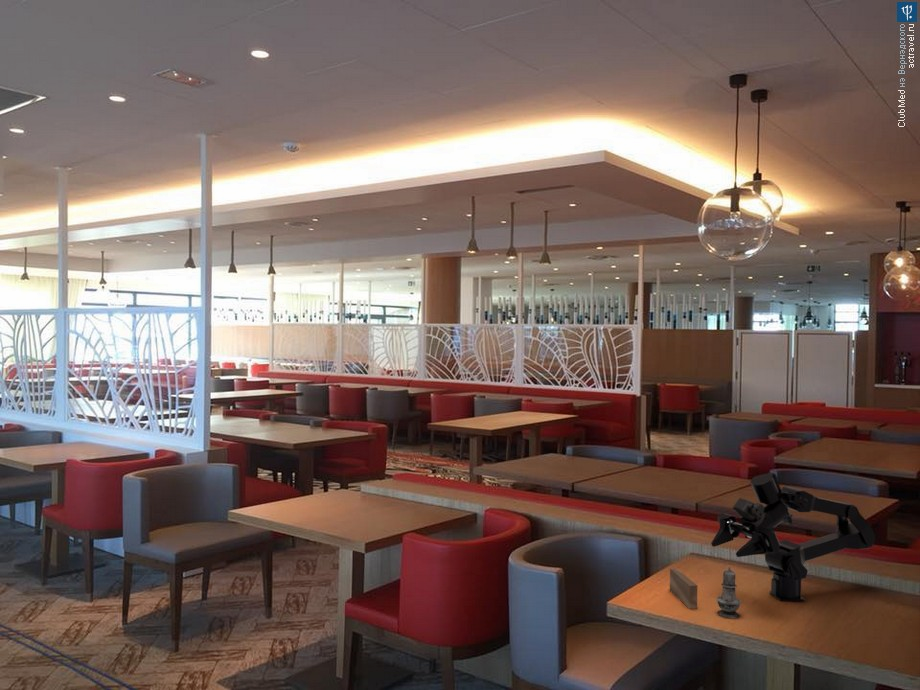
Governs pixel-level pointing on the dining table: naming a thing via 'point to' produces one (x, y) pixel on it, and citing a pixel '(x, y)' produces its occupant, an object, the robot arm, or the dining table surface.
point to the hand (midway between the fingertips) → (724, 550)
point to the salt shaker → (728, 596)
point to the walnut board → (683, 588)
